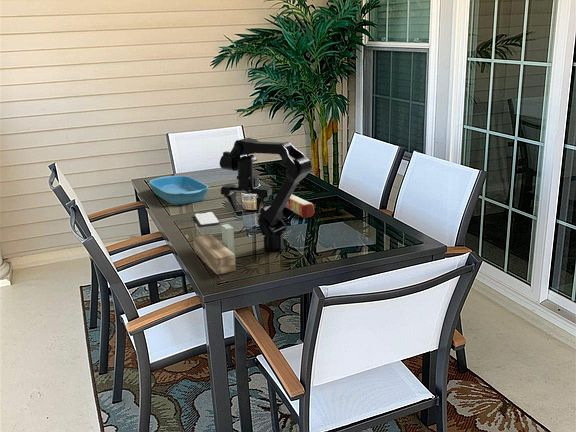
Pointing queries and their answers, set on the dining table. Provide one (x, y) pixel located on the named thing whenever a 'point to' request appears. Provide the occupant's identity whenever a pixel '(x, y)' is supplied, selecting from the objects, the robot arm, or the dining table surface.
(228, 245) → the sage green flanged block
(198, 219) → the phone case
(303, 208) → the snack package
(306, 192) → the dining table surface
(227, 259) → the beige u-shaped channel
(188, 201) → the casserole dish
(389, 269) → the dining table surface
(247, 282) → the dining table surface
